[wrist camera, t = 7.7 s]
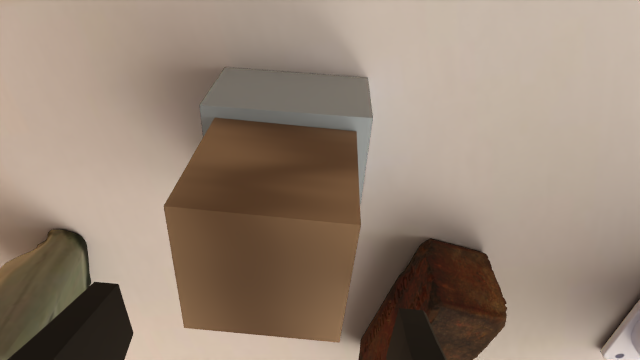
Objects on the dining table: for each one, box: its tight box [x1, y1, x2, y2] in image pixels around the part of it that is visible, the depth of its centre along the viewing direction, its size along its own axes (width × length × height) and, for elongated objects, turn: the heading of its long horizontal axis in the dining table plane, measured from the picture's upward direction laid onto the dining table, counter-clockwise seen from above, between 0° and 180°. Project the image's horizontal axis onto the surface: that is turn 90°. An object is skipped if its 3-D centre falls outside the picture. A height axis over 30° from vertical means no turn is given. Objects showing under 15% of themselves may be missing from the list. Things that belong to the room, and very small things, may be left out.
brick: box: [359, 239, 507, 360], centre depth 24 cm, size 11×4×5 cm, turn 164°
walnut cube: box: [164, 118, 361, 342], centre depth 14 cm, size 5×5×5 cm
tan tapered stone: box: [0, 229, 91, 360], centre depth 22 cm, size 6×5×8 cm
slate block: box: [200, 67, 373, 204], centre depth 18 cm, size 6×6×4 cm
